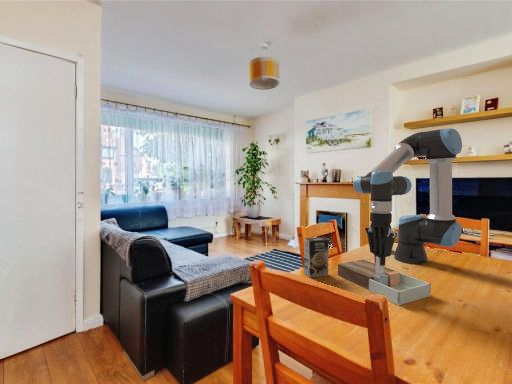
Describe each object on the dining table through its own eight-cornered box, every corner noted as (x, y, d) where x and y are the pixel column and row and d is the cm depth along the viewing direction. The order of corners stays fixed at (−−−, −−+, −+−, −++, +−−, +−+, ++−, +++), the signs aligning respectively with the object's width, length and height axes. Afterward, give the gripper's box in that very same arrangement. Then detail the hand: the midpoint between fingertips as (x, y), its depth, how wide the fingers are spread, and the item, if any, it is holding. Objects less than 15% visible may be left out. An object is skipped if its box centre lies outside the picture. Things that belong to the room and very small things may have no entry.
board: (363, 270, 127) (363, 259, 127) (397, 283, 110) (397, 271, 110) (337, 275, 121) (337, 264, 120) (370, 290, 104) (370, 277, 104)
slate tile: (383, 274, 106) (387, 275, 104) (383, 286, 106) (387, 288, 104) (374, 276, 104) (378, 277, 102) (373, 288, 104) (378, 290, 102)
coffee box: (310, 278, 118) (310, 241, 117) (303, 272, 124) (303, 237, 123) (328, 275, 120) (329, 239, 119) (321, 270, 126) (321, 236, 125)
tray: (398, 283, 111) (399, 272, 110) (430, 296, 99) (430, 283, 99) (368, 290, 104) (368, 279, 104) (398, 305, 92) (399, 292, 92)
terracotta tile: (395, 271, 109) (399, 272, 107) (395, 283, 109) (399, 285, 108) (386, 273, 107) (390, 274, 105) (386, 285, 107) (390, 287, 106)
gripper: (360, 210, 108) (359, 269, 109) (388, 214, 96) (387, 280, 97) (374, 209, 111) (373, 266, 112) (403, 213, 99) (401, 277, 100)
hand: (379, 273), depth 105 cm, fingers closed
